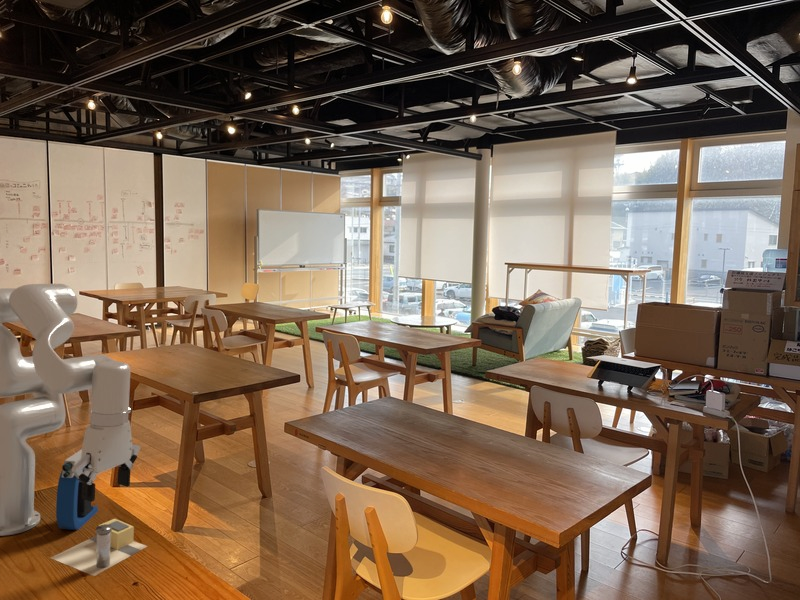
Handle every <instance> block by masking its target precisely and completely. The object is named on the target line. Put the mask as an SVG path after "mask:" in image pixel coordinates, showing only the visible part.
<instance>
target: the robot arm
mask: <svg viewBox="0 0 800 600" xmlns="http://www.w3.org/2000/svg"><path fill="white" fill-rule="evenodd" d="M77 307H78V297H77V294H76V292H75V291H74V290H73V289H72V288H71V287H70V286H68V285H66V284H64V283H30V284H25V285H21V286H18V287H16V288H9V287H8V288H0V399H2V398H11V397H17V396H18V397H19V396H23V395H29V394H33V396H34V397H33V398H28V399H27V398H25V399H21V400H15V401H11V402H6V403H2V404H0V536H3V537H4V536H10V535H11V536H12V535H17V534H20V533H24V532H26V531H29V530H30V529H33V528H35V526H38V524H39V523H40V522H41V514H40V512H38V511H37V510H35V509H34V508H35V507H34V506H35V501H34V500H35V484H36V483H35V478H36V475H35V474H36V455H35V451H34V449H33V448H32V447H31V446H30V444H28V443H27V441H26V440H27V439H29V438H32V437H35V436H39V435H44V434H48V433H51V432H54V431H57V430H58V429H60V428H61V427H62V426H63V425H64V424H65V421H66V417H67V416H66V414H67V413H66V405H65V402H64V397H63V396H64V395H65V394H71V393H78V392H81V391H82V392H83V391H88V390H91V401H90V402H91V403H90V404H91V405H90V406H91V407H90V424H89V425H87V426H86V428H85V433H84V435H83V440H82V447H81V449H82V454H81V460H80V461H79V462H78V463H77V464H76V465H75V466H73V467H72V472H73V473H74V475H75V478H77V479H78V480H79V481H80V482H82V499H84V500H87V501H90V502H91V503H93V502H94V501H95V499H96V483H94V481H95V479H96V478H97V476H98V475H99V474H100V473H103V472H106V471H108V470H111V469H114V468H116V467H118V468H117V485H121V486H123V487H126V488H128V487H129V486H130V485H131V470H132V469H133V468H134V463H135V462H136V460H137V459H138V455H139V452H140V450H141V446H140V445H138V444H133V437H132V426H131V421H130V420H129V414H130V413H131V411H132V409H131V408H130V389H131V367H130V365H129V364H128V363H127V362H124V361H117V360H115V359H113V358H111V357H110V356H108V355H105V354H94V355H92V354H91V355H87V356H85V355H84V356H78V357H76V356H75V357H71V358H64V359H63V358H61V357H60V356H59V355H58V354H57V353H56V351H55V350H54V349H56V348H58V347H60V346H62V345H63V344H64V343H66V342H67V341H68V340H69V339H70V338H71V337H72V335H73V333H74V331H75V324H74V321H73V320H72V318H71V317H70V316H71V315H73V314H74V313H75V312H76V310H77ZM16 322H17V323H18V322H21V323H22V324H23V325H24V326H25V328H26V329H27V330H28V332H29V333H30V334H31V336H32V337H33V338H34V339H35V342H34V346H33V348H32V355H31V356H23V355H22V352H21V349H20V348H21V347H20V342H19V340H18V338H17V336H16V335H15V334H14V333H13V332H12V331H11V330H10V329H9V328H8V327H6V326H5V325H3V323H16ZM92 467H93V468H92ZM83 469H85V470H84V472H83V471H82V470H83ZM90 472H92V473H91V475H90V477H88V475H89V473H90Z"/></svg>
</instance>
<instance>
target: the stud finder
mask: <svg viewBox="0 0 800 600" xmlns="http://www.w3.org/2000/svg"><path fill="white" fill-rule="evenodd" d="M104 524H108V525H111V526H112V531H111V541H110V547H112V548H114V549H116V550H118V549H120V548H122V547H124V546H126V545H129V544H131V543H133V541H134V536H135V532H134V531H135V525H134V526H133V525H131V524H129V523H126V522H124V521H123V520H122V521H121V520H119V519H118V518H112V519H109V520H108V521H106V522H103V523H101V524H98V526H100V525H104ZM98 526H97V527H98Z"/></svg>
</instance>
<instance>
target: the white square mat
mask: <svg viewBox="0 0 800 600" xmlns="http://www.w3.org/2000/svg"><path fill="white" fill-rule="evenodd" d="M147 547H149V546H148V545H146V544H144V543H143V544H142V543H140V542H137V541H135V540H133V543H131V544H129V545H126V546H124V547H122V548H120V549H118V550H116V549H114V548H112V547H110V565H109V566H108V567H105V568H97V567H96V553H97V534H96V535H94V536H92V537H90V538H89V539H86V540H84V541H82V542H80V543H78V544H76V545H74V546H72V547H69V548H68V549H66V550H63V551H62V552H60V553H58V554H55V555H53V556H51V557H50V559H51V560H53V561H56V562H58V563H61V564H63V565H66V566H69V567H71V568H74V569H75V570H78V571H81V572H83V573H85V574H88V575H91V576H93V577H95V576H97V575H99V574H101V573H103V572H105V571H106V570H109V569H110V568H112V567H113V566H116V565H117V564H118V563H121V562H123V561H124V560H126V559H128V558H130V557H131V556H134V555H135V554H137V553H138V552H140V551H142V550H144V549H145V548H147Z"/></svg>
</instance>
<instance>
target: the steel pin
mask: <svg viewBox="0 0 800 600" xmlns="http://www.w3.org/2000/svg"><path fill="white" fill-rule="evenodd" d="M99 525H100V524H99ZM111 531H112V526H111V525H108V524H104V525H100V526H96V527H95V533H96V535H97V553H96V567H97V568H105V567H108V566H109V565H110V541H111Z"/></svg>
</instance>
